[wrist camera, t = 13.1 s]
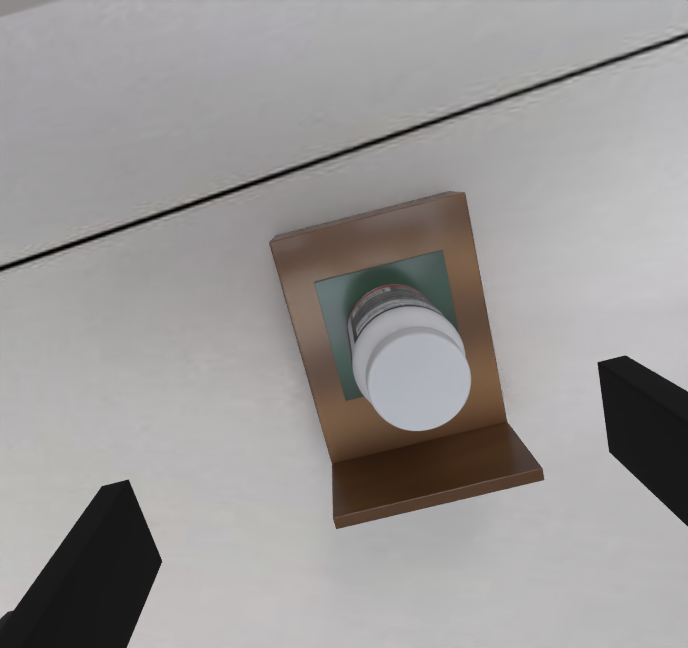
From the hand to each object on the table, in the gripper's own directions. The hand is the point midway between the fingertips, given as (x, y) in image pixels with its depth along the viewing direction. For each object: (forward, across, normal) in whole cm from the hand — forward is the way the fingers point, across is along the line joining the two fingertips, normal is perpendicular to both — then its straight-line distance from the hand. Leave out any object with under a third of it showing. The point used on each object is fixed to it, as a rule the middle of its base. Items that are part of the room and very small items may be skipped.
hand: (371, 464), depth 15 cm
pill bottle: (+19, +3, -2) cm, 19 cm away
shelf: (+23, +3, -3) cm, 23 cm away
